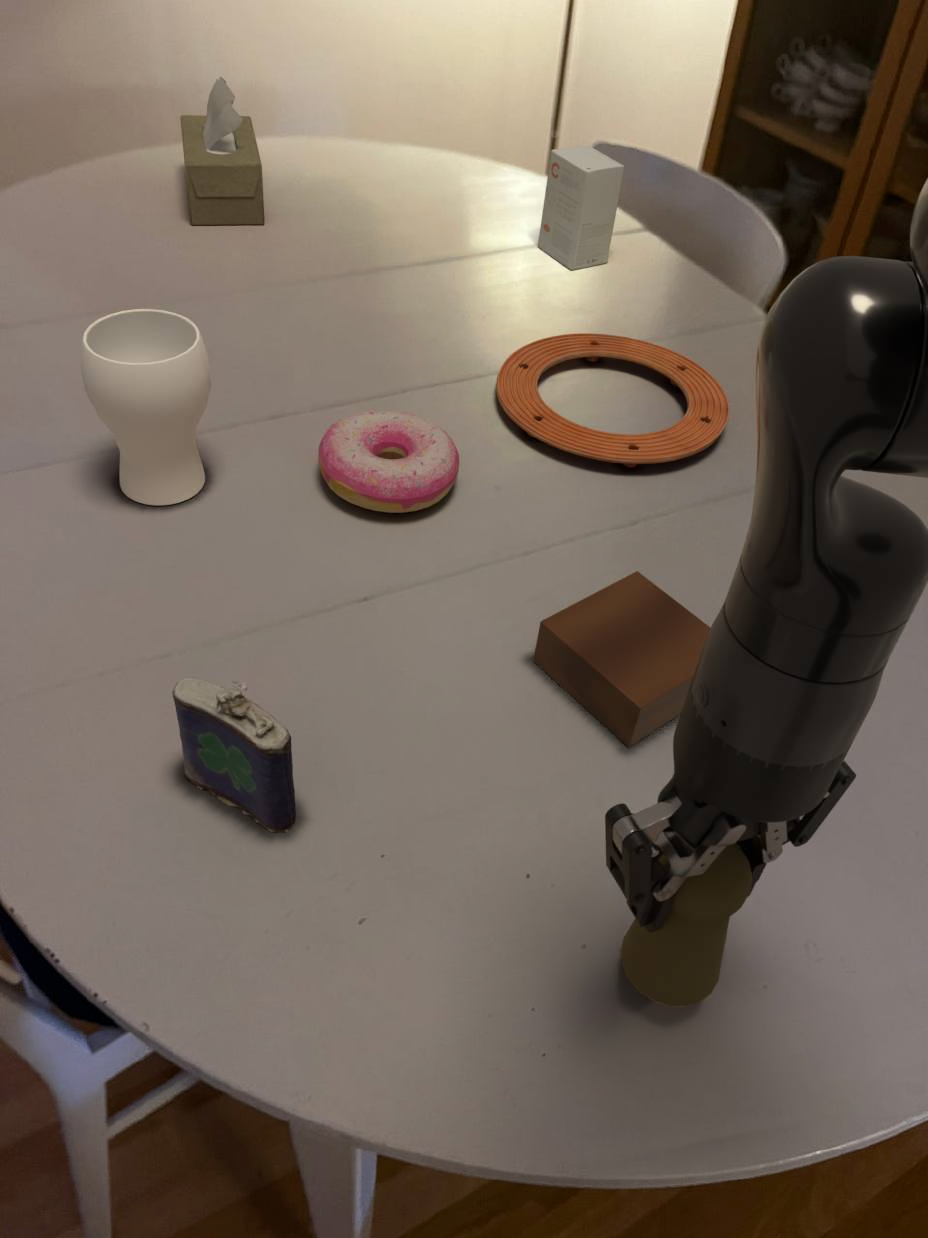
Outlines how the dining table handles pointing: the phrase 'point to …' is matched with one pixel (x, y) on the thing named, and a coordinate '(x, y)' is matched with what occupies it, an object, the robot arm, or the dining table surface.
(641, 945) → the olive pawn
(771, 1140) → the dining table surface
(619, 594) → the walnut block
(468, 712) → the dining table surface
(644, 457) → the ring
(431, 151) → the dining table surface
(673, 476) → the dining table surface
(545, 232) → the small box
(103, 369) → the cup
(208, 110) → the tissue box
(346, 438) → the donut
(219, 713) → the flask
